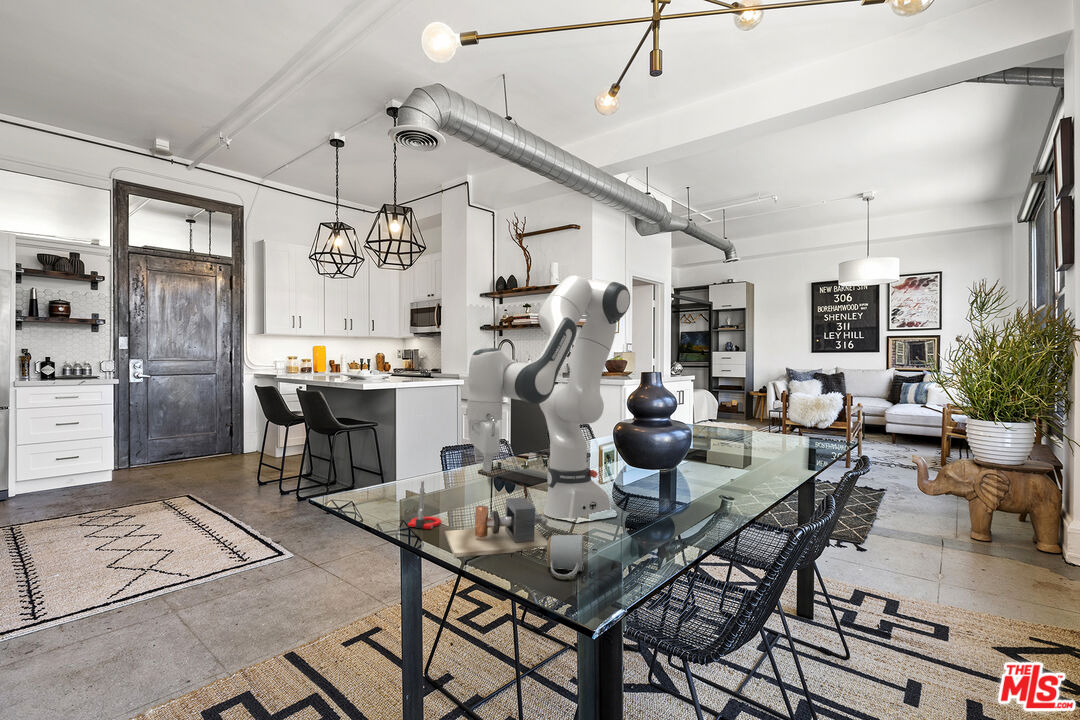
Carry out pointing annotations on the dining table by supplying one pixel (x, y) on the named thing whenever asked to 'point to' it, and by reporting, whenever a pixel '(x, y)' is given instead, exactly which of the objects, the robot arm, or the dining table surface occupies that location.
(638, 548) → the dining table surface
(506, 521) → the flanged metal rod
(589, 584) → the dining table surface
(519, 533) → the eye bracket
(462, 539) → the base board
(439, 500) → the dining table surface
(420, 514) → the tow hook
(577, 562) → the ceramic mug
